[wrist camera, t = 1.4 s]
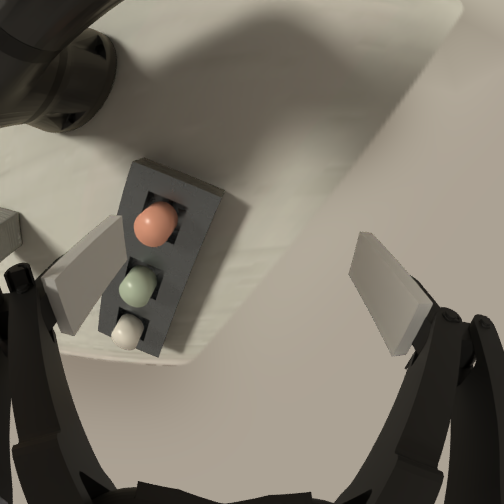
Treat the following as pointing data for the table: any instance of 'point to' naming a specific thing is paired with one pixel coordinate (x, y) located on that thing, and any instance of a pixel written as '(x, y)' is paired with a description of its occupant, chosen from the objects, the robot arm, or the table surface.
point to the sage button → (138, 286)
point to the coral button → (156, 224)
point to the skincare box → (9, 232)
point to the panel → (162, 257)
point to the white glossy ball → (127, 332)
